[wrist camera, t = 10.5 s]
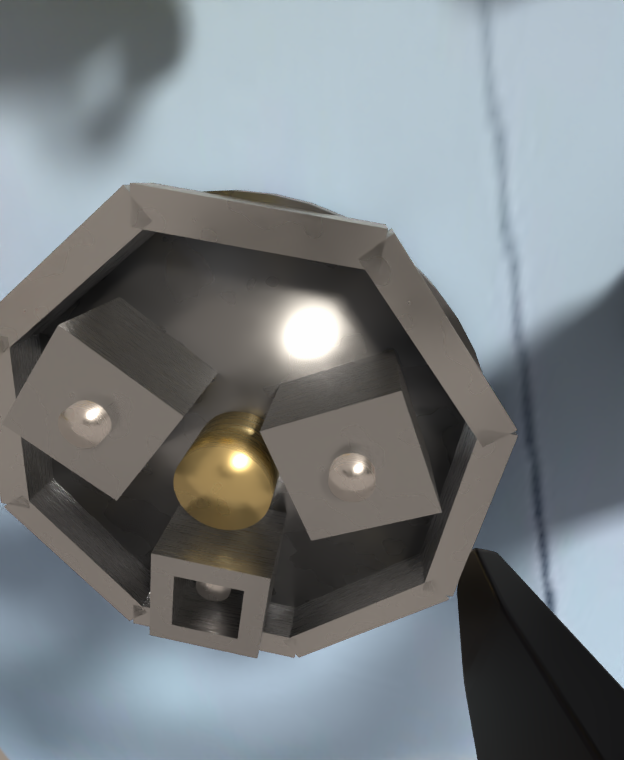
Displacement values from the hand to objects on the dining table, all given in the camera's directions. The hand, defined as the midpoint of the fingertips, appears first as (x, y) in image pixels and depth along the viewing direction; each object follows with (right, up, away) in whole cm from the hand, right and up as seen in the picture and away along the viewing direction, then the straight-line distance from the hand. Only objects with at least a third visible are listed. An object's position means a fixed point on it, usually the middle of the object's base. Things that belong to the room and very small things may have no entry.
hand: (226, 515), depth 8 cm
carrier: (-2, 0, +13) cm, 14 cm away
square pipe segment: (-3, -6, +15) cm, 16 cm away
